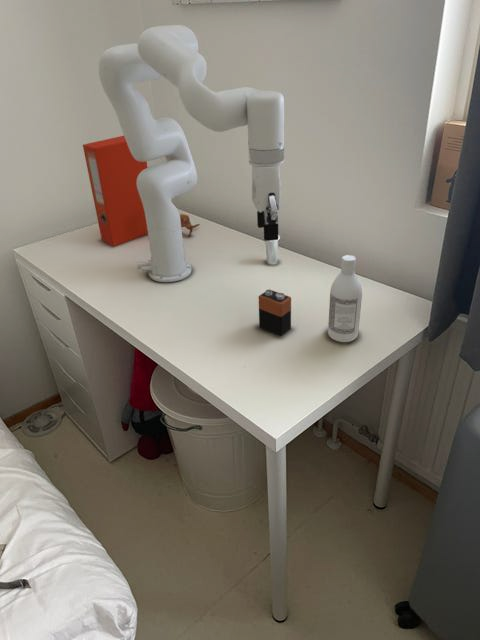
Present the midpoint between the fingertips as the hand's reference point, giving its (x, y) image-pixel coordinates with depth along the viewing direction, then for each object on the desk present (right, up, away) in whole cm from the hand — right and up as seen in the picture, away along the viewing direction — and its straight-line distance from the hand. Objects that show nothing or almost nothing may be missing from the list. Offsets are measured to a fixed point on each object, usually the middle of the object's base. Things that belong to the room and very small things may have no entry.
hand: (267, 232), depth 116 cm
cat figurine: (-26, +8, +56) cm, 63 cm away
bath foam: (+18, -24, +2) cm, 30 cm away
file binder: (-45, +9, +59) cm, 74 cm away
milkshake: (+4, -3, +36) cm, 37 cm away
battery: (+2, -23, +6) cm, 23 cm away
